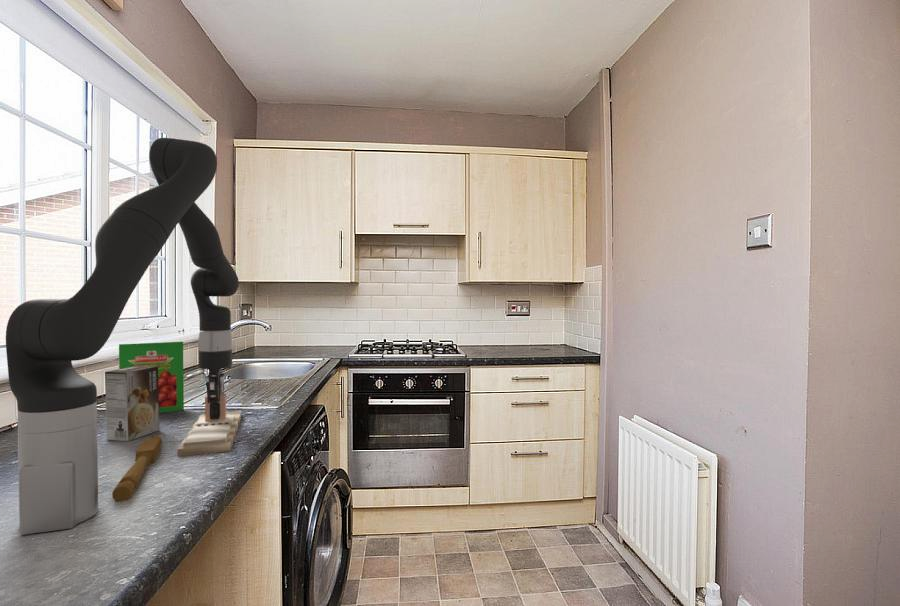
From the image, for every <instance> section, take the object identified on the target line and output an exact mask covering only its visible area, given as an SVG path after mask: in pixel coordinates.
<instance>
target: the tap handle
mask: <svg viewBox="0 0 900 606" xmlns="http://www.w3.org/2000/svg"><path fill="white" fill-rule="evenodd" d="M162 439H163V438H162V437H160V436H159V435H154V436H151V437H150V438H146V439H143V440H142V442H141V444H140V445H139V446H138V448H137V449H136V451H135V459H134V463H133V464H132V465H131V467H130V468H129V469H128V470H127V472H126V473H125V474H124V475H123V476H122V477H121V479H120V481H119V482H118V483H117V485H116V486H115V488H114V490H113V491H112V492H111V493H112V494H111V495H112V499H113V501H115V502H119V501H120V502H126V501H129V500H130V499H131V498H132V496H133V495H134V493H135V492H136V489H137V488H138V486H139V484H140V482H141V480H142V478H143V475H144V473H145V471H146V469H147V468H148V466H150V464H154V463H155V462H156V460H157V458H158V457H159V455H160V453H161V451H162V443H163V440H162Z"/></svg>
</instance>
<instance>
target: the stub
mask: <svg viewBox="0 0 900 606" xmlns="http://www.w3.org/2000/svg"><path fill="white" fill-rule="evenodd" d="M212 398H216V395H213V396H212ZM220 400H221V402H220V418H219V419H213V420H211V419H210V404H209V403H208V402H207V394H206V395H205V396H204V401H205V402H204V414H205V417H201V418H199V417H198V418H199V420H198V421H197V420H196V421H197V423H196V426H197V425H205V424H208V425H211V424H214V423H215V424H218V423H222V424H225V423H226V422H229V423H232V424H233V422H234V419H235V415H227V416H226V412H227V393H224V394H221V395H220Z"/></svg>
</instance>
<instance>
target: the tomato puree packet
mask: <svg viewBox="0 0 900 606" xmlns="http://www.w3.org/2000/svg"><path fill="white" fill-rule="evenodd" d="M134 366H158V384H159V414H160V413H169V412H177V411H184V410H185V408H184V407H185V403H184V402H185V401H184V397H185V396H184V395H185V394H184V393H185V391H184V389H185V388H184V383H185V382H184V341H169V342H168V341H167V342H165V341H164V342H163V341H162V342H145V343H141V342H140V343H120V344H119V345H118V369H123V368H128V367H134Z"/></svg>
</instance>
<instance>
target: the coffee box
mask: <svg viewBox="0 0 900 606" xmlns="http://www.w3.org/2000/svg"><path fill="white" fill-rule="evenodd" d="M104 379H105V381H104V384H105V388H104V389H105V419H106V420H105V423H106V424H105V426H106V429H105V430H106V440H109V441H121V442H130V441H133V440H136V439H138V438H141V437H143V436H147V435H150V434H151V433H152V434H153V433H155V432H158V431H160V428H161V427H160V413H159V384H158V366H134V367H128V368H123V369H119V368H117V369H113V370H107V371H104Z"/></svg>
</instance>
